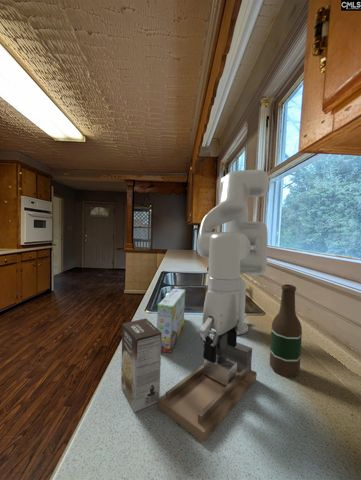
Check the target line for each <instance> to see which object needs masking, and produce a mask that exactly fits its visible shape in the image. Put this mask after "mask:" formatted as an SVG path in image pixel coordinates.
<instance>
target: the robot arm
mask: <svg viewBox="0 0 361 480" xmlns="http://www.w3.org/2000/svg"><path fill="white" fill-rule="evenodd" d="M269 182H270V181H269V176H268V174H267V172H266V171H265V170H264V169H247V170H246V169H245V170H244V169H243V170H240V169H239V170H233V171H230V172H228V173H227V174H226V175H225V176H222V177H221V179H220V182H219V189H220V198H219V203H218V204H217V205H216V206H215V207H213V208H212V209H211V210H209V211H208V213H207V214H205V216H204V217H203V219H202V221H201V222H200V226H199V229H198V233H197V240H196V252H197V254H198V255H199V256H200V257H202V258H204V259H208V272H207V273H208V275H207V277H208V278H207V290H206V293H205V299H204V304H203V311H202V312H203V313H202V322H201V323H202V325H201V327H200V328H199V331H198V332H199V335H200V340H201V341H202V343H203V355H202V356H203V360H204V359H206V360H208V361H210V362H212V363H215V362H216V355H217V346H216V345H215V344H216V341H217V338H218V336H220V335H222V334H224V333H225V332H227V333H228V335H227V345H230V346H232V347H236V342H237V336H238V335H244V334H246V333H247V332H248V331H249V326H248V325H247V324H246V323H245V319H246V318H247V317H248V315H247V313H246V295H247V294H246V293H247V286H246V283H245V280H244V278H242V276H241V275H243V274H244V275H255V276H260V275H263V274H265V273H266V271H267V266H268V243H269V242H268V239H269V235H268V234H269V232H268V226H267V225H266V223H264V222H262V221H256V220H255V221H252V220H251V221H249V209H248V198H252V197H256V198H258V197H264V196H266V194H267V193H268V190H269ZM224 224H225V229H224V230H225V231H213V230H214V229H216V228H217V227H219V226H221V225H224ZM251 247H254V249H252V248H251ZM212 329H213V330H212ZM210 335H213V337H212V338H211V337H210Z"/></svg>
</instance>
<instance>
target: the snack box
mask: <svg viewBox="0 0 361 480" xmlns="http://www.w3.org/2000/svg"><path fill="white" fill-rule="evenodd" d="M170 291H171V292H170V293H169V294H168V295H167V296H166V297H163V299H161V301H160V302H159V303H158V304H157V313H156V314H157V315H156V328H157V329H158V330H159V331H160V332H161V333H162V336H161V353H162V352H163V353H170V354H171V352H172V350H173V348H174V347H175V344H176V342H177V340H178V338H179V335H180V334H181V332H182V330H183V328H184V327H185V326H184V321H185V320H184V318H185V302H186V301H185V300H186V289H183V288H182V289H181V288H172V289H171V290H170Z"/></svg>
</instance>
